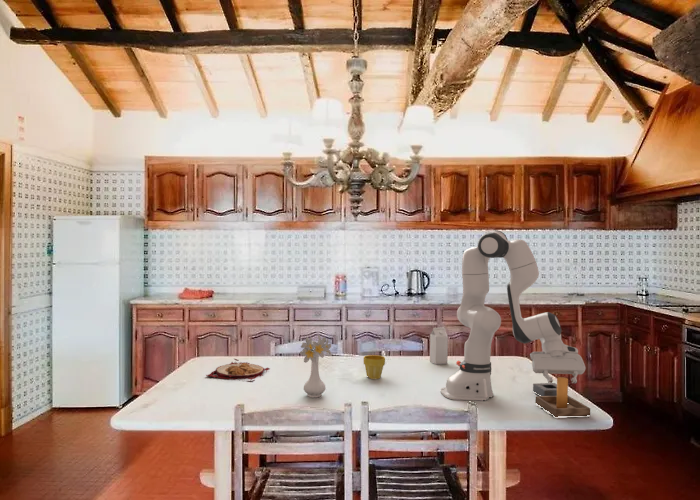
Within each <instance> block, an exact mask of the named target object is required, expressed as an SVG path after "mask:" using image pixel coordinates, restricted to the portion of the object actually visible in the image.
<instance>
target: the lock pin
mask: <svg viewBox="0 0 700 500" xmlns="http://www.w3.org/2000/svg"><path fill="white" fill-rule="evenodd" d="M556 384H557V403H556V408H567V400H568V396H569V393H568V392H569V391H568V390H569V378H567V377H563V376H557V378H556Z"/></svg>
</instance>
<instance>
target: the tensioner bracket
mask: <svg viewBox="0 0 700 500" xmlns="http://www.w3.org/2000/svg"><path fill="white" fill-rule="evenodd" d="M533 391H534V392H536V393H537V394H539V395H541V396H557V383H555V382H552V383H548V382H546V383H545V382H541V383H537V382H536V383H533V384H532V392H533Z"/></svg>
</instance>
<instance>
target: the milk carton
mask: <svg viewBox="0 0 700 500" xmlns="http://www.w3.org/2000/svg"><path fill="white" fill-rule="evenodd" d="M429 336H430V337H429V362H431V363H433V364H434V365H445V364H447V365H448V356H449V355H448V353H449V352H448V351H449V349H448V346H449V344H448V343H449V336H448V333H447V331H446V328H445V327H433V328H432V331H431V332H430V334H429Z"/></svg>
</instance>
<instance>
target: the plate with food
mask: <svg viewBox="0 0 700 500" xmlns="http://www.w3.org/2000/svg"><path fill="white" fill-rule="evenodd" d="M234 360H235V361H234V362H233V361H231V362H230V363H227V364H224V365H219V366H217V367H216V369H215V370H213V371H211V372H210V373H209V374H205V376H206V377H213V378H216V379H225V380H234V381H235V380H239V381H242V382H244V379H247V380H249V382H254V381H255V379H256V378H258V377H262V376H264V374H263V373H264V372H266V373H267V372H268V371H270V369H271V368H269V367H266V368H264V367H263V366H262V365H258V364H253V363H250V362H248V361H246V362H241V361H240V362H239V359H237V358H234ZM214 374H215V375H214Z"/></svg>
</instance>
